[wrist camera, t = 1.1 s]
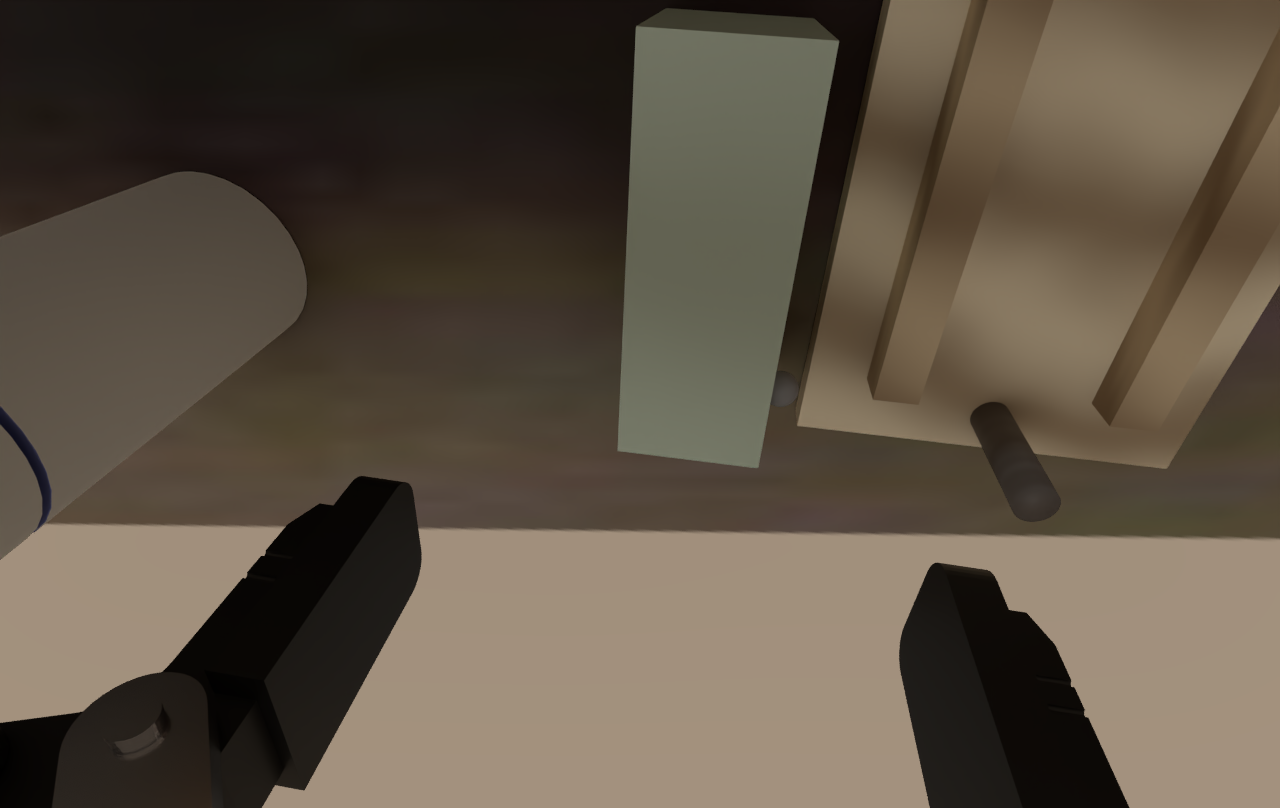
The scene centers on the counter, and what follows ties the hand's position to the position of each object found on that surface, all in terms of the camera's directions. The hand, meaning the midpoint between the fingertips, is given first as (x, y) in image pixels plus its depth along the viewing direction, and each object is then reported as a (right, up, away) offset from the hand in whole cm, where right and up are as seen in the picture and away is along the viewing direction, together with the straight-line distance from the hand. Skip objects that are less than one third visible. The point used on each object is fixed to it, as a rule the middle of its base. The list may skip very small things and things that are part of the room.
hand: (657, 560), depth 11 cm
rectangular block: (+2, +9, +14) cm, 17 cm away
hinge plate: (+14, +10, +11) cm, 20 cm away
